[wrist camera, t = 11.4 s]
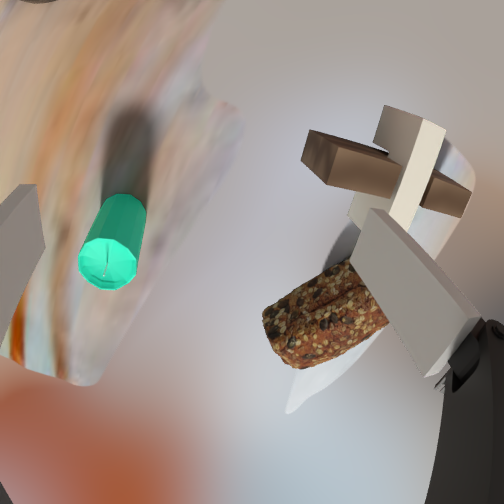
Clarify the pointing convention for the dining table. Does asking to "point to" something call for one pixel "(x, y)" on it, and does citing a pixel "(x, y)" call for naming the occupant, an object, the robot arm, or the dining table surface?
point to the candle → (113, 243)
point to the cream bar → (407, 155)
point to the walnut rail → (375, 173)
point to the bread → (323, 318)
